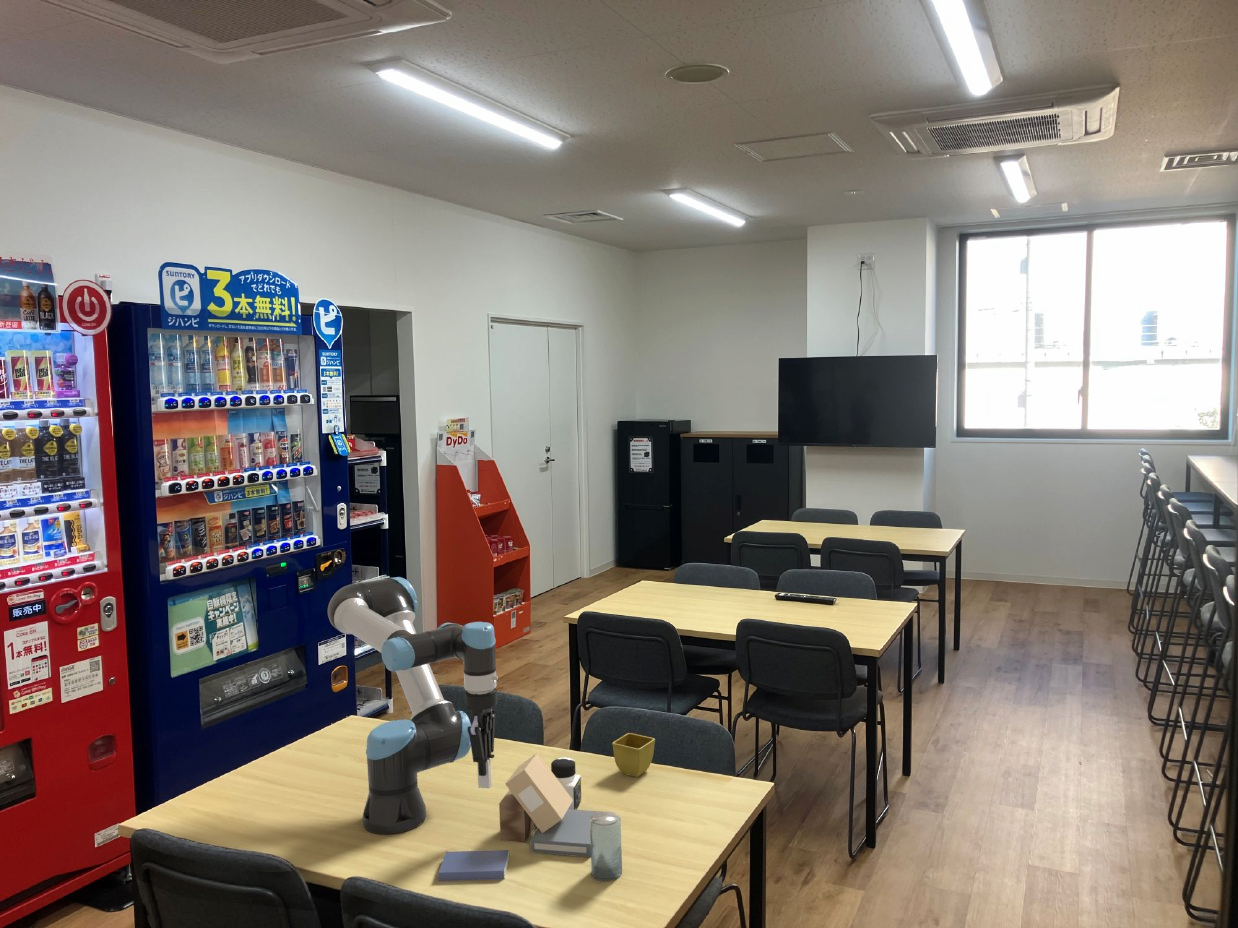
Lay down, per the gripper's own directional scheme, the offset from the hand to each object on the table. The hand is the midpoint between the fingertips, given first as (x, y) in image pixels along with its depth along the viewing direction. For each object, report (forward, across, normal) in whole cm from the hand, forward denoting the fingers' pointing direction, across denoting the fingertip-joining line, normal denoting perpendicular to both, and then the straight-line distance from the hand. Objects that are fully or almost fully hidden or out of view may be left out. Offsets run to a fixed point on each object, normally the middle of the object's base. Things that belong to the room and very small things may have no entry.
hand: (484, 786), depth 217 cm
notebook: (+12, -17, -4) cm, 21 cm away
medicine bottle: (+11, +15, -15) cm, 24 cm away
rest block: (+11, 0, -8) cm, 13 cm away
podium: (+11, 0, -20) cm, 23 cm away
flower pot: (+11, +38, -28) cm, 49 cm away
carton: (+6, 0, -18) cm, 19 cm away
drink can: (+11, -14, -32) cm, 37 cm away
